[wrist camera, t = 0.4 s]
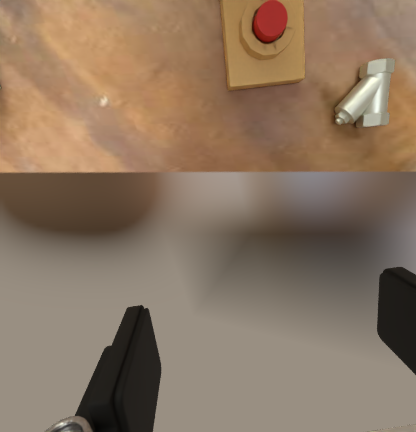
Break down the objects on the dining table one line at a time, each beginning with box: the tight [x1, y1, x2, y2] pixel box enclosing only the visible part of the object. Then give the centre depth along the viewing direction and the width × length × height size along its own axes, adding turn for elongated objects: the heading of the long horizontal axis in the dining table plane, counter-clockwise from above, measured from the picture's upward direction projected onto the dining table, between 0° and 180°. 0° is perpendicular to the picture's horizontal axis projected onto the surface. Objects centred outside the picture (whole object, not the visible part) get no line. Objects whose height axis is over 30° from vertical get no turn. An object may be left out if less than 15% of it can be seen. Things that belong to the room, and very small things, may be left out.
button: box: [253, 0, 288, 42], centre depth 30 cm, size 4×4×2 cm
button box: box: [220, 0, 305, 91], centre depth 32 cm, size 12×10×4 cm
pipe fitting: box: [335, 58, 395, 128], centre depth 35 cm, size 8×4×7 cm
